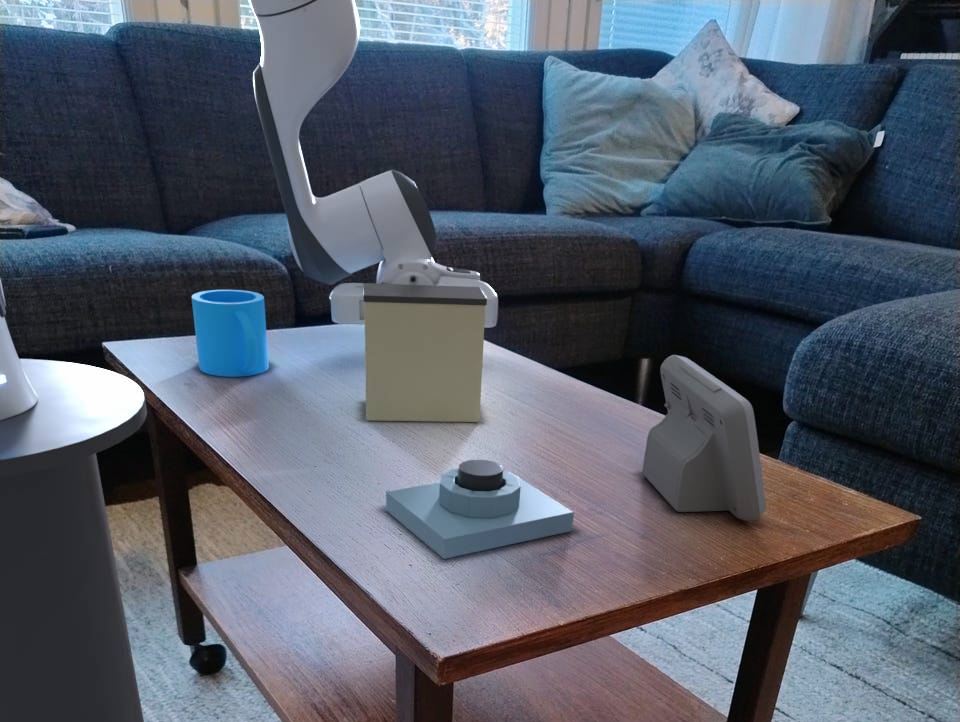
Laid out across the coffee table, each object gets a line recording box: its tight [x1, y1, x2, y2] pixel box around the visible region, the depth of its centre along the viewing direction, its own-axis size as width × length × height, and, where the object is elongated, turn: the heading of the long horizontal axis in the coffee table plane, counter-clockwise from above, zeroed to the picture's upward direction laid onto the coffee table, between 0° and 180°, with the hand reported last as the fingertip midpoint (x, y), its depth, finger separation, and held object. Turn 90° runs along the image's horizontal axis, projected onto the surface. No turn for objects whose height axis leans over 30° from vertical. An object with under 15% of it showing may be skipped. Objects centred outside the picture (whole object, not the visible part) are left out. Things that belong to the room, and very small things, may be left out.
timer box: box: [385, 467, 575, 560], centre depth 74 cm, size 12×10×4 cm
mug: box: [191, 289, 270, 378], centre depth 106 cm, size 12×8×8 cm
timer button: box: [457, 459, 504, 491], centre depth 73 cm, size 4×4×2 cm
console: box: [362, 282, 487, 423], centre depth 95 cm, size 6×12×13 cm, turn 97°
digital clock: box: [641, 354, 767, 522], centre depth 80 cm, size 16×9×11 cm, turn 179°
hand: (417, 320), depth 104 cm, fingers closed
